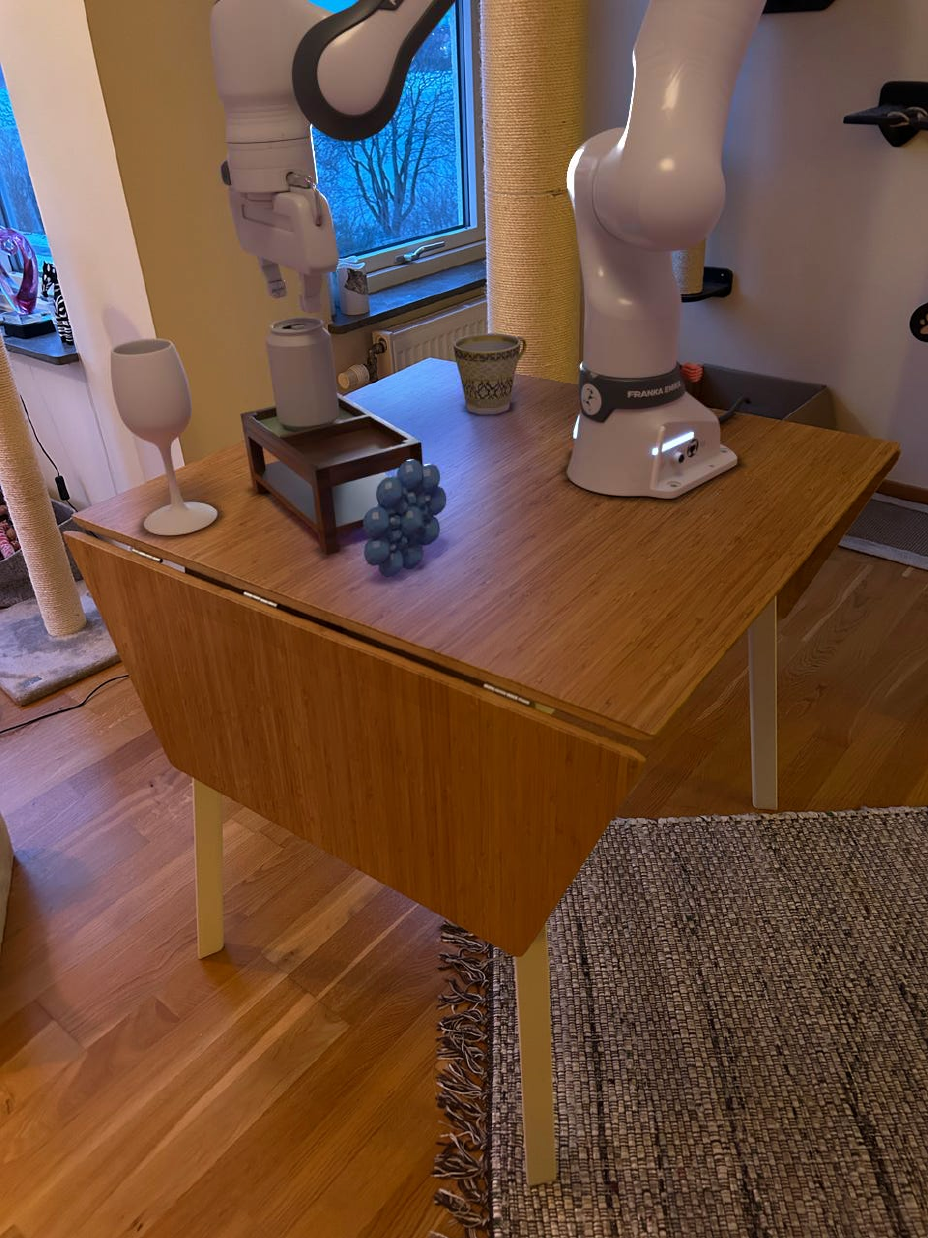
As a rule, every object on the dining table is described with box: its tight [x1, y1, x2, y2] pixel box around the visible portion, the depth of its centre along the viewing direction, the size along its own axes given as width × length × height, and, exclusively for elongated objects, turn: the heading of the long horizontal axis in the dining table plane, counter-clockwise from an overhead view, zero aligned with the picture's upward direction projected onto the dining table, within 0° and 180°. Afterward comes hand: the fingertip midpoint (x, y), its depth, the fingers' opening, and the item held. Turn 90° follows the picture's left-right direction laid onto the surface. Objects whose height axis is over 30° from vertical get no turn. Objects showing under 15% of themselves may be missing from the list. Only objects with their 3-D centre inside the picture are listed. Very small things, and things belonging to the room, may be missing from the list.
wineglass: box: [110, 337, 218, 536], centre depth 105 cm, size 9×9×21 cm
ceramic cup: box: [452, 332, 527, 415], centre depth 139 cm, size 13×10×10 cm
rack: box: [239, 392, 424, 556], centre depth 110 cm, size 13×22×10 cm, turn 33°
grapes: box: [363, 459, 447, 579], centre depth 96 cm, size 12×7×12 cm, turn 138°
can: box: [265, 316, 340, 431], centre depth 108 cm, size 8×8×12 cm
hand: (294, 303), depth 104 cm, fingers open, 8 cm apart
